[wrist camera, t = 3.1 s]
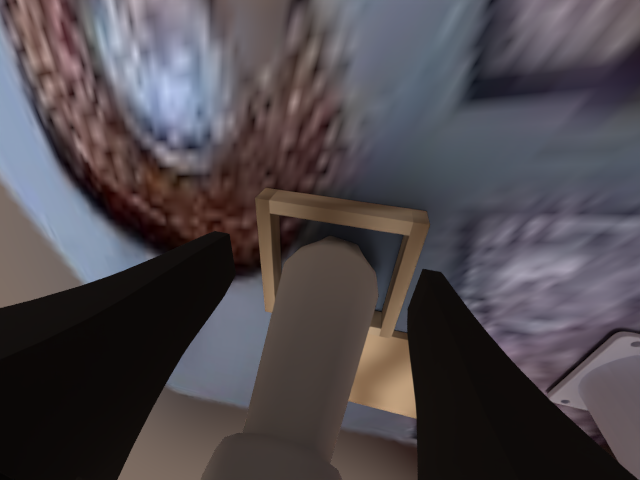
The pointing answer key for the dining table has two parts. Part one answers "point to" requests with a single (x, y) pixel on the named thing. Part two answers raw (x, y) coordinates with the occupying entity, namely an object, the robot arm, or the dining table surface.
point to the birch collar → (347, 214)
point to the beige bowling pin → (304, 368)
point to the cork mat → (385, 375)
